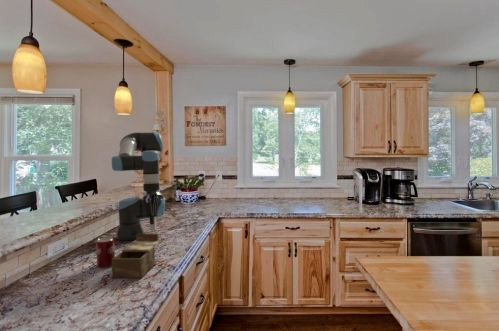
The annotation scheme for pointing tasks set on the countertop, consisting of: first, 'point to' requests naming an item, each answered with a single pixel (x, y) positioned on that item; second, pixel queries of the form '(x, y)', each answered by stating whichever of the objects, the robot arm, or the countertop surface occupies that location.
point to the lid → (142, 243)
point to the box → (132, 264)
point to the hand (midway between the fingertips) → (153, 230)
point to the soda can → (105, 252)
